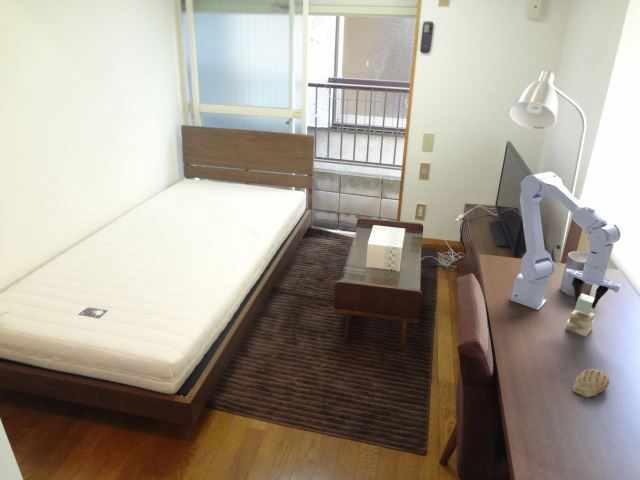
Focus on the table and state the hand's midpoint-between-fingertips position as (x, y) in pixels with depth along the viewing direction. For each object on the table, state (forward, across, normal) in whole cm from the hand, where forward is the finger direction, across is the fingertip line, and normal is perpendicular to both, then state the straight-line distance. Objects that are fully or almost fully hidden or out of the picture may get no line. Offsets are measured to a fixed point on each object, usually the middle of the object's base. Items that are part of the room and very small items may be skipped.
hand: (585, 304), depth 147 cm
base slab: (+9, 0, 0) cm, 9 cm away
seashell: (+9, +10, -28) cm, 31 cm away
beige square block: (+6, 0, 0) cm, 6 cm away
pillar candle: (+9, -8, +24) cm, 27 cm away
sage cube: (+2, 0, 0) cm, 2 cm away
